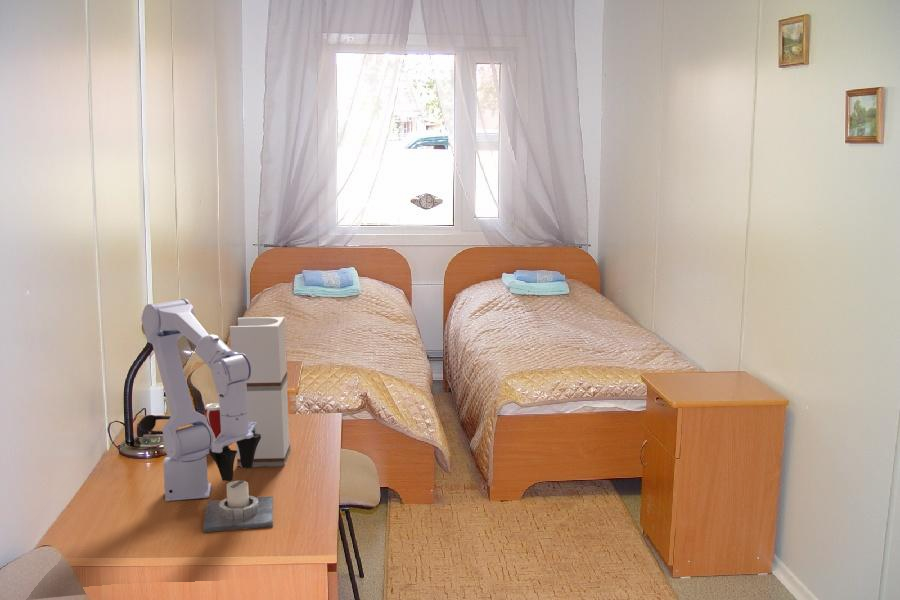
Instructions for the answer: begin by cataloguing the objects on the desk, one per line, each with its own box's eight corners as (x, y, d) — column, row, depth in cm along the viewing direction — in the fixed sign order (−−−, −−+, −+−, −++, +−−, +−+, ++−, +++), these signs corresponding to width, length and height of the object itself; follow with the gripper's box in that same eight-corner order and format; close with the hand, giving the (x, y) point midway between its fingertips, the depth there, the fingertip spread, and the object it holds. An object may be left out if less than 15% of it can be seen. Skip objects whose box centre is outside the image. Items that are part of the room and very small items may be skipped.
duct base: (203, 532, 191) (202, 518, 191) (207, 505, 205) (207, 492, 204) (272, 526, 194) (272, 512, 193) (272, 500, 207) (272, 487, 207)
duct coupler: (241, 516, 196) (239, 488, 195) (223, 513, 198) (222, 485, 197) (253, 508, 200) (252, 481, 199) (236, 505, 202) (235, 478, 201)
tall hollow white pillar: (290, 451, 238) (284, 316, 232) (284, 466, 228) (278, 326, 222) (245, 451, 238) (238, 317, 232) (237, 467, 228) (229, 326, 221)
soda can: (222, 454, 237) (219, 408, 234) (203, 453, 238) (200, 407, 235) (231, 447, 242) (228, 402, 239) (212, 446, 243) (209, 401, 240)
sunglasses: (146, 430, 257) (144, 412, 256) (204, 428, 258) (202, 411, 257) (132, 446, 244) (131, 428, 243) (194, 444, 245) (192, 426, 244)
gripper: (231, 424, 187) (234, 488, 190) (268, 404, 200) (271, 464, 203) (201, 421, 189) (205, 484, 192) (240, 401, 203) (243, 460, 205)
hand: (237, 474), depth 198 cm, fingers open, 7 cm apart
